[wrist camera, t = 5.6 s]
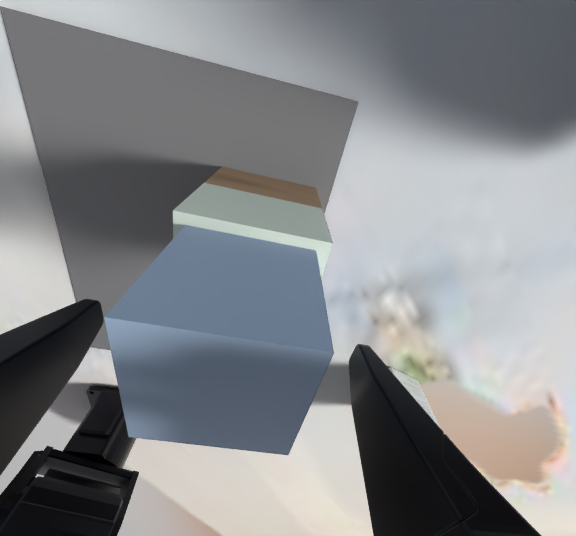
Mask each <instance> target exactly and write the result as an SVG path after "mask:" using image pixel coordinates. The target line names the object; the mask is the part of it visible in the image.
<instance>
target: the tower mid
mask: <svg viewBox="0 0 576 536" xmlns="http://www.w3.org/2000/svg"><path fill="white" fill-rule="evenodd" d="M185 225H189V226H194V227H199V228H204V229H209V230H215V231H220V232H225V233H230V234H235V235H240V236H245V237H250V238H255V239H260V240H266V241H271V242H276V243H281V244H286V245H291V246H296V247H301V248H306V249H311V250H316V252H317V258H318V264H319V269H320V275H321V277H322V274H323V271H324V268H325V265H326V262H327V259H328V256H329V253H330V251H331V248H332V245H333V242H332V239H331V235H330V232H329V229H328V225H327V222H326V219H325V215H324V212H323V209H322V208H317V207H313V206H308V205H304V204H299V203H295V202H290V201H285V200H281V199H276V198H272V197H267V196H263V195H258V194H254V193H249V192H244V191H240V190H235V189H231V188H226V187H222V186H217V185H212V184H208V183H203V184H202V185H201V186H200V187H199V188H198V189H197V190H195V191H194V192H193V193H192V194H191V195H190V196H189V197H187V198H186V199H185V200H184V201H183V202H182V203H181V204H180V205H178V206H177V207H176V208H175V209H174V210H173V239H174V237H175V236H176V235H177V234H178V233H179V232H180V231H181V230H182V228H183V227H184V226H185Z"/></svg>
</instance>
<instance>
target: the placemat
mask: <svg viewBox="0 0 576 536" xmlns="http://www.w3.org/2000/svg"><path fill="white" fill-rule="evenodd" d="M0 8H1V12H2V15H3V19H4V23H5V27H6V31H7V35H8V39H9V42H10V46H11V50H12V54H13V58H14V62H15V66H16V69H17V73H18V77H19V81H20V85H21V89H22V93H23V96H24V100H25V104H26V108H27V112H28V116H29V120H30V123H31V127H32V131H33V135H34V139H35V143H36V146H37V150H38V154H39V158H40V162H41V166H42V170H43V173H44V177H45V181H46V185H47V189H48V193H49V197H50V200H51V204H52V208H53V212H54V216H55V220H56V224H57V227H58V231H59V235H60V239H61V243H62V247H63V251H64V254H65V258H66V262H67V266H68V270H69V274H70V278H71V281H72V285H73V289H74V293H75V297H76V301H77V302H79V301H81V300H84V299H91V300H97V301H99V302H100V303H101V307H102V312H103V317H105V315H106V314H107V313H108V312H109V311H110V310H111V309H112V308H113V306H114V305H115V304H116V303H117V302H118V301H119V300H120V299H121V297H122V296H123V295H124V294H125V293H126V292H127V291H128V289H129V288H130V287H131V286H132V285H133V284H134V283H135V282H136V280H137V279H138V278H139V277H140V276H141V275H142V274H143V273H144V271H145V270H146V269H147V268H148V267H149V266H150V265H151V263H152V262H153V261H154V260H155V259H156V258H157V257H158V256H159V254H160V253H161V252H162V251H163V250H164V249H165V248H166V246H167V245H168V244H169V243H170V242H171V241H172V240H173V210H174V209H175V208H176V207H177V206H178V205H180V204H181V203H182V202H183V201H184V200H185V199H186V198H187V197H189V196H190V195H191V194H192V193H193V192H194V191H195V190H197V189H198V188H199V187H200V186H201V185H202V184H203V183H204V182H206V181H207V180H208V179H209V178H210V177H211V176H212V175H213V174H215V173H216V172H217V171H218V170H219V169H220V168H221V167H227V168H231V169H235V170H240V171H244V172H249V173H253V174H257V175H262V176H266V177H271V178H275V179H279V180H284V181H288V182H293V183H297V184H302V185H306V186H310V187H315V188H316V189H317V192H318V196H319V199H320V202H321V205H322V209H323V212H324V213H325V210H326V206H327V203H328V200H329V197H330V193H331V190H332V187H333V183H334V180H335V177H336V174H337V170H338V167H339V164H340V160H341V157H342V154H343V151H344V147H345V144H346V141H347V137H348V134H349V131H350V128H351V124H352V121H353V118H354V114H355V111H356V108H357V105H358V102H357V101H354V100H350V99H346V98H342V97H339V96H335V95H331V94H327V93H324V92H320V91H316V90H312V89H309V88H305V87H301V86H297V85H294V84H290V83H286V82H282V81H279V80H275V79H271V78H267V77H264V76H260V75H256V74H252V73H249V72H245V71H241V70H237V69H234V68H230V67H226V66H222V65H219V64H215V63H211V62H207V61H204V60H200V59H196V58H192V57H189V56H185V55H181V54H177V53H174V52H170V51H166V50H162V49H159V48H155V47H151V46H147V45H144V44H140V43H136V42H132V41H129V40H125V39H121V38H117V37H113V36H110V35H106V34H102V33H98V32H95V31H91V30H87V29H83V28H80V27H76V26H72V25H68V24H65V23H61V22H57V21H53V20H50V19H46V18H42V17H38V16H35V15H31V14H27V13H23V12H20V11H16V10H12V9H8V8H5V7H1V6H0ZM90 347H93V348H100V349H107V350H111V348H110V343H109V339H108V334H107V329H106V324H105V319H104V322H103V325H102V327H101V329H100V330H99V332H98V334H97V336H96V337H95V339H94V341H93V343H92V344H91V346H90Z"/></svg>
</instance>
